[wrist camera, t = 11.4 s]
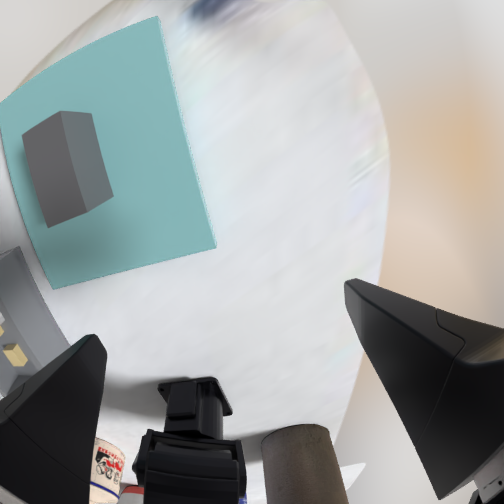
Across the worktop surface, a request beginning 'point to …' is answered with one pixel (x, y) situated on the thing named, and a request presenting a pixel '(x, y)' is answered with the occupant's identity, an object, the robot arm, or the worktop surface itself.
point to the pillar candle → (302, 467)
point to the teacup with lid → (106, 472)
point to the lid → (105, 160)
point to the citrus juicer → (131, 495)
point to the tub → (24, 325)
